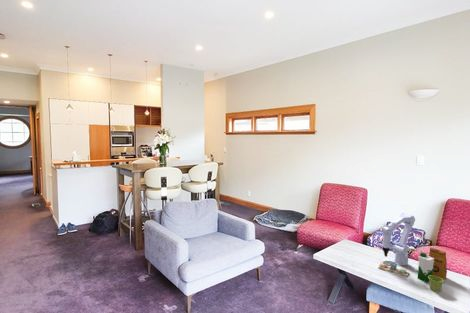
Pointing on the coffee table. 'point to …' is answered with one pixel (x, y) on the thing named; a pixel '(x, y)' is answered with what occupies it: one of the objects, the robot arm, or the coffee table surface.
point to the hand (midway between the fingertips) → (385, 256)
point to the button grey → (393, 267)
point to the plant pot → (435, 283)
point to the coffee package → (439, 263)
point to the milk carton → (425, 267)
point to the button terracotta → (384, 265)
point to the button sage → (403, 271)
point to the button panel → (393, 270)
